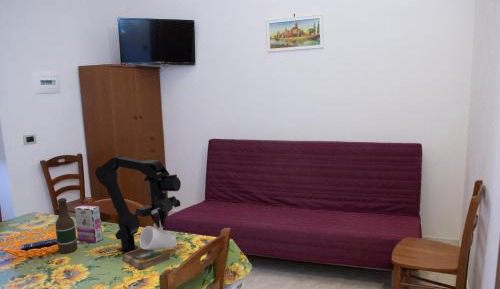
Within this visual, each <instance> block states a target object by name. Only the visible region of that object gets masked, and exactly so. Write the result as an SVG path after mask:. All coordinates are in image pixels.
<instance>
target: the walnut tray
mask: <svg viewBox="0 0 500 289" xmlns="http://www.w3.org/2000/svg"><path fill="white" fill-rule="evenodd" d="M151 251H153V249H151V250H147V249H142V248H141V247H138V249H136V250H133V251H130V252H128V253H123V254H121V256H122V258H121V259H122V261H123V262H125V263H127V264H129V265H131V267H134V268H135V269H138V270H140V271H143V270H145V269H148V268H150V267H152V266H155V265H157V264H159V263H162V262H164V261H167V260H170V253H169V252H164V253H162V254H159V255H156V256H154V257H151V258H149V259H147V260H144V261H140V260H138V259H136V257H138V256H141V255H144V254H147V253H149V252H151Z"/></svg>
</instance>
